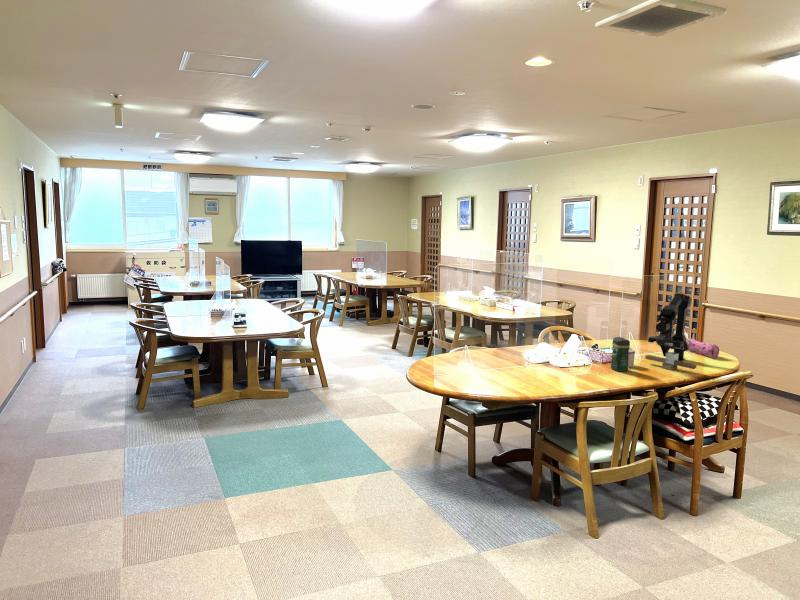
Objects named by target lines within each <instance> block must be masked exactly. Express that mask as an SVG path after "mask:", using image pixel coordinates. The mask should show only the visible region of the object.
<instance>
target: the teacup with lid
mask: <svg viewBox="0 0 800 600" xmlns="http://www.w3.org/2000/svg"><path fill="white" fill-rule="evenodd" d="M635 353H636V350H635V349H633V348H631V347H629V355H628V368H632V367H634V366H635V365H634V363H635V355H636V354H635Z"/></svg>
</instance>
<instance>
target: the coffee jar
mask: <svg viewBox="0 0 800 600" xmlns="http://www.w3.org/2000/svg"><path fill="white" fill-rule="evenodd" d="M611 346H612V352H611V353H612V354H611V359H610V368H611V369H612V370H614V371H616V372H620V373H623V372H624V373H625V372H627V371H629V367H628V355H629V348H631V347H630V346H631V342H630V340H629V339H626V338H624V337H621V336H616V337H615V336H614V337H613V339H612V345H611Z"/></svg>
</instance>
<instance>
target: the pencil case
mask: <svg viewBox="0 0 800 600" xmlns="http://www.w3.org/2000/svg"><path fill="white" fill-rule="evenodd" d="M686 342H687V345H688V351H687V352H691V353H696V354H699V355H702V356H707V357H709V358H711V359H715V358H717V357H718V356H719V354H720V347H719V346H718V345H717V344H712V343H706V342H702V341H698V340H696V338H693V337H691V338H688V340H686Z"/></svg>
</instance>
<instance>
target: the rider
mask: <svg viewBox="0 0 800 600" xmlns="http://www.w3.org/2000/svg"><path fill="white" fill-rule="evenodd" d="M678 354H679V353H674V351H668V352H667V353H666V356H665V357H664V358H665V363H668V364H673V365H674V361H679V360H678Z"/></svg>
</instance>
